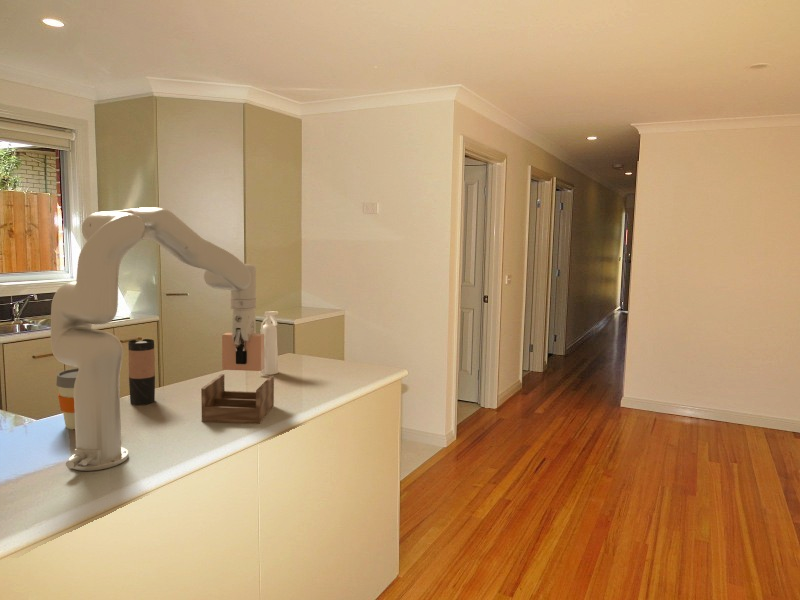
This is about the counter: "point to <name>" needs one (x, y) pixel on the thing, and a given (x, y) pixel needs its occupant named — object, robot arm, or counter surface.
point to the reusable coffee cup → (67, 395)
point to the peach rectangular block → (252, 347)
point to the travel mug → (141, 371)
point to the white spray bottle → (270, 343)
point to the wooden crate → (236, 403)
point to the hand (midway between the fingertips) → (243, 361)
